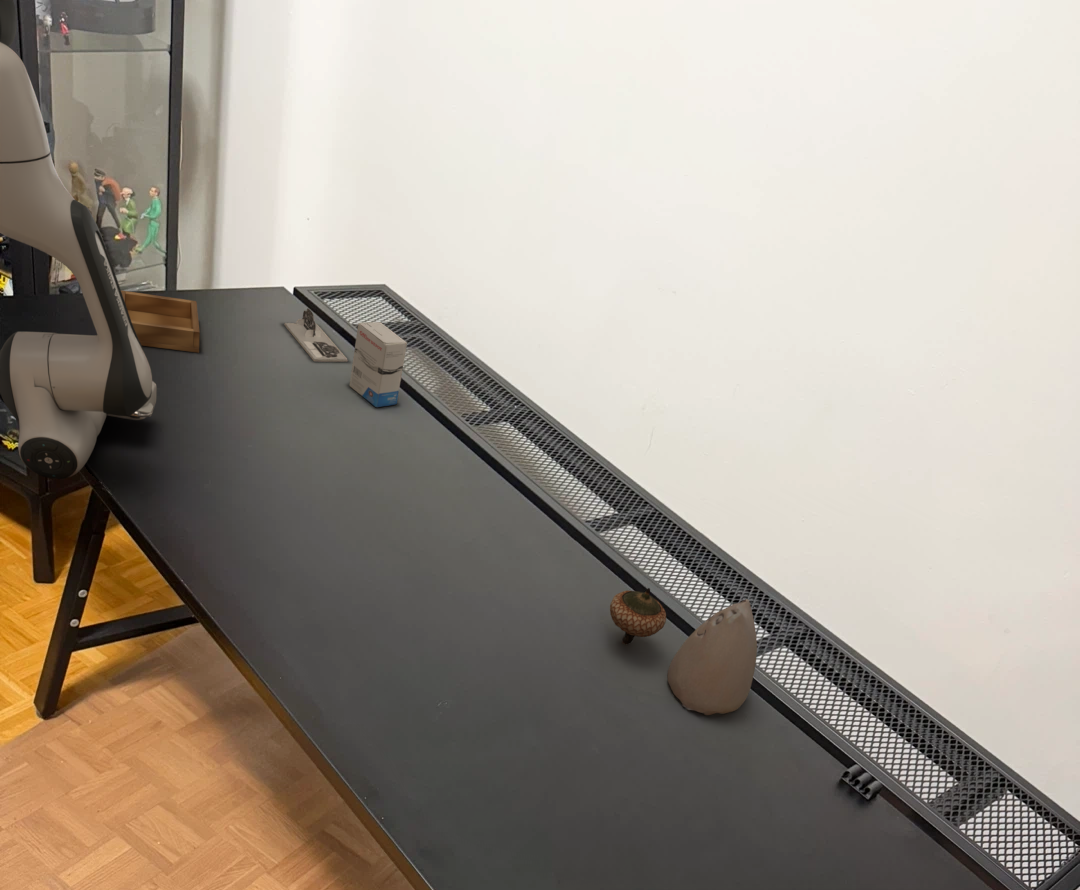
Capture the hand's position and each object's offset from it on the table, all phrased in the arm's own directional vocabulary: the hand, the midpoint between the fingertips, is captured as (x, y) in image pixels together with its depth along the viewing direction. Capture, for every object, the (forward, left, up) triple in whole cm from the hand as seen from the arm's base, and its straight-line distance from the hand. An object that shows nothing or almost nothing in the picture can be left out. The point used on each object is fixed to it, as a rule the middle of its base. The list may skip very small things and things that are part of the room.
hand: (92, 364), depth 155 cm
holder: (+10, +26, -5) cm, 28 cm away
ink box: (+46, +11, -5) cm, 47 cm away
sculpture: (+81, -68, -5) cm, 105 cm away
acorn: (+72, -58, -5) cm, 92 cm away
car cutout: (+38, +30, -5) cm, 49 cm away
